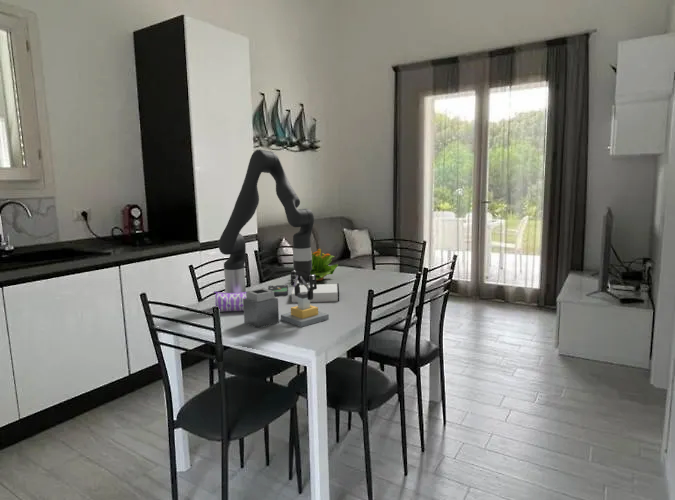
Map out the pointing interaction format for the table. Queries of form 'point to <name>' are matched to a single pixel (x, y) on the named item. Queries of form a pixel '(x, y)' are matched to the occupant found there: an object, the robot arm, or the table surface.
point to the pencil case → (230, 301)
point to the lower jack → (304, 316)
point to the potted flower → (322, 265)
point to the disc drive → (320, 293)
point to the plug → (303, 301)
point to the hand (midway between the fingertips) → (303, 297)
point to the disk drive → (279, 290)
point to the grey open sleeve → (260, 308)
